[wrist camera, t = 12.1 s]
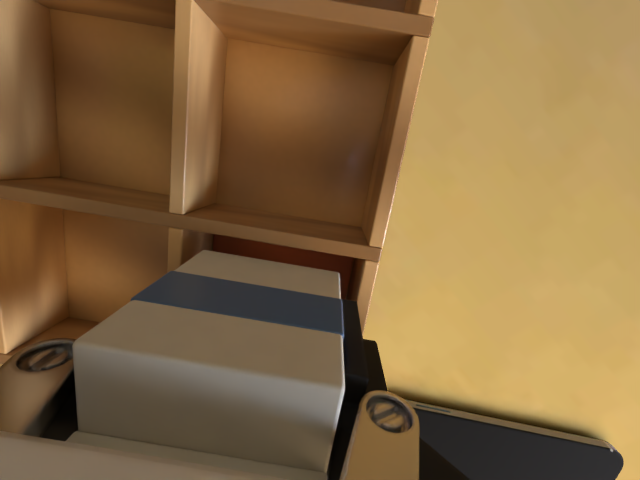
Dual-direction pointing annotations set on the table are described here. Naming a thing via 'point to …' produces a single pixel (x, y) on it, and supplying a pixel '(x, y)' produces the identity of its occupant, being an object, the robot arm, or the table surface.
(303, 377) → the milk carton
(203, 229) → the compartment tray
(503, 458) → the smartphone
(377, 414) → the robot arm
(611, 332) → the table surface
